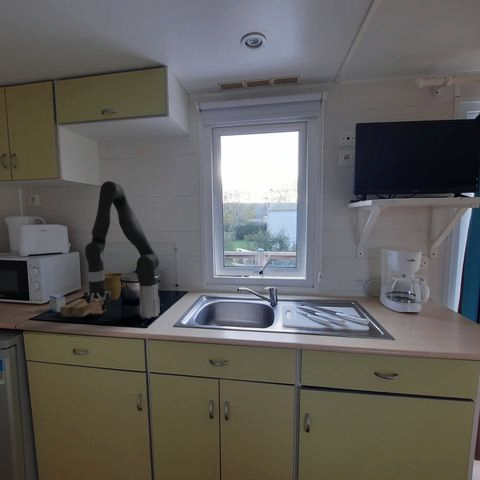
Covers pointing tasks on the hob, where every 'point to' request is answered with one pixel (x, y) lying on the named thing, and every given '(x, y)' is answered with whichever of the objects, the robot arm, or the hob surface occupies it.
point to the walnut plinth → (76, 308)
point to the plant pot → (113, 285)
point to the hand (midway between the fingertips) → (98, 310)
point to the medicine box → (56, 302)
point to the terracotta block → (96, 306)
